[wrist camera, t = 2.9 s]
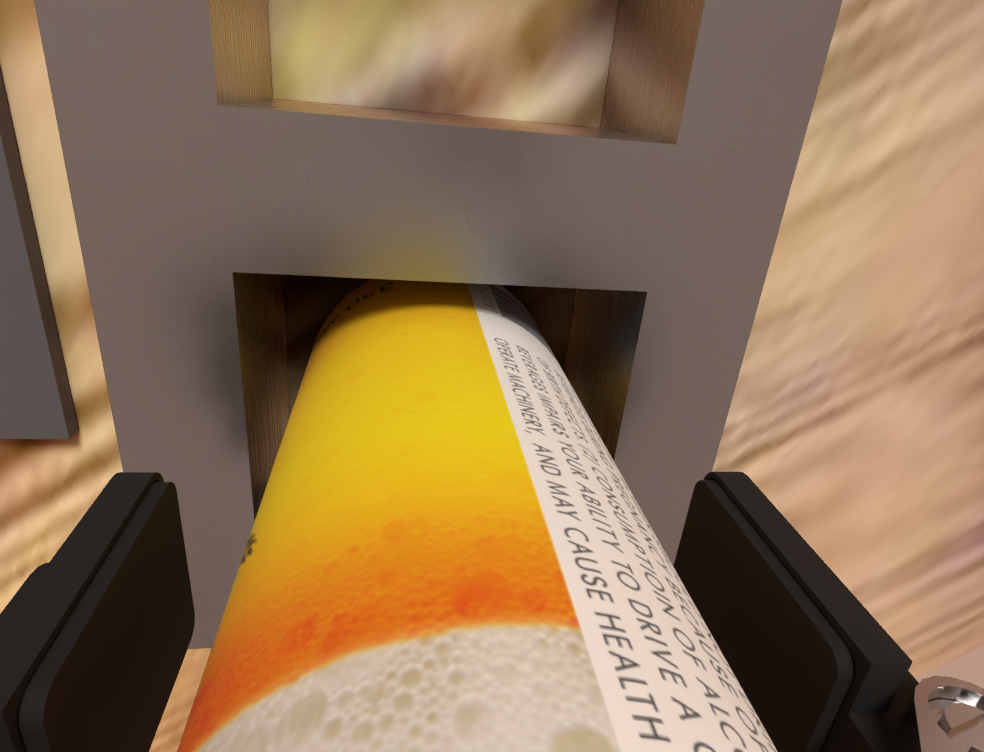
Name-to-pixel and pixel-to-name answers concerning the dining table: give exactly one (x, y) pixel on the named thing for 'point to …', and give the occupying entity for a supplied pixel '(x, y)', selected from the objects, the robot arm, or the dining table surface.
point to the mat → (26, 314)
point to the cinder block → (419, 230)
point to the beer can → (455, 560)
